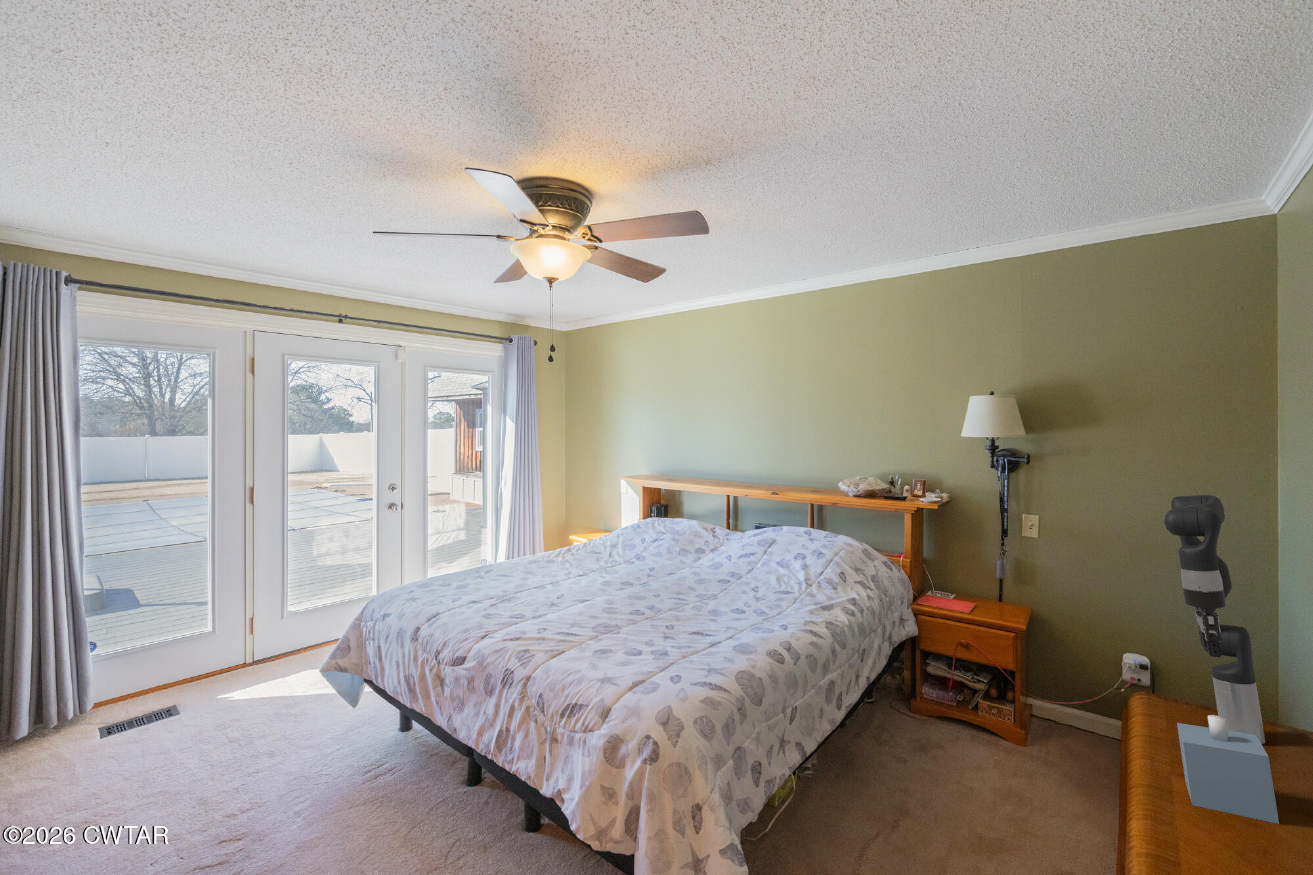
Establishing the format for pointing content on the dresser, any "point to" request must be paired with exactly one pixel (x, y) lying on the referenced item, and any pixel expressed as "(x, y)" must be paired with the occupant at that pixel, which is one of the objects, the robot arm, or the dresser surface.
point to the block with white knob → (1227, 770)
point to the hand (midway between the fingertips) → (1212, 651)
